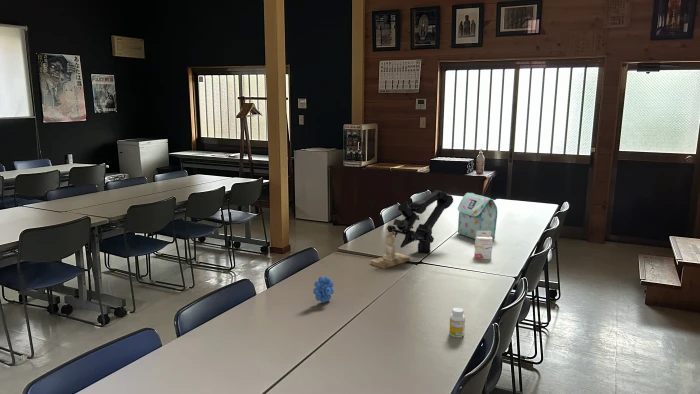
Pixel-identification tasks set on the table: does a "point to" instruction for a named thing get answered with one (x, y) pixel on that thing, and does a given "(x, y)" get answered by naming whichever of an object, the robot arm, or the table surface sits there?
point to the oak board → (387, 263)
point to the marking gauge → (390, 247)
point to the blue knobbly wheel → (323, 289)
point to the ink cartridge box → (483, 245)
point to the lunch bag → (476, 215)
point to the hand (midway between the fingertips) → (394, 245)
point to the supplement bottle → (457, 323)
